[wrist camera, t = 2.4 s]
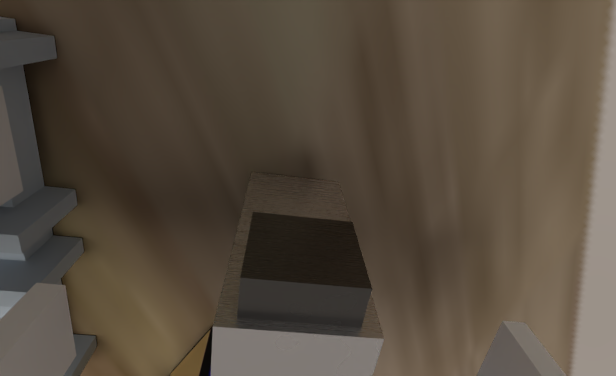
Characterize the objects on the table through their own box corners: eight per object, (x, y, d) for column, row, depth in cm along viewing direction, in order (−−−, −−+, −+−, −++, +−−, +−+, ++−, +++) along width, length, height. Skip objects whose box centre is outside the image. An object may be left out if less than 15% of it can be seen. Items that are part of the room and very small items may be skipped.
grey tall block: (253, 146, 16) (214, 285, 8) (343, 157, 16) (396, 300, 8) (245, 246, 18) (207, 435, 10) (324, 253, 18) (351, 441, 10)
